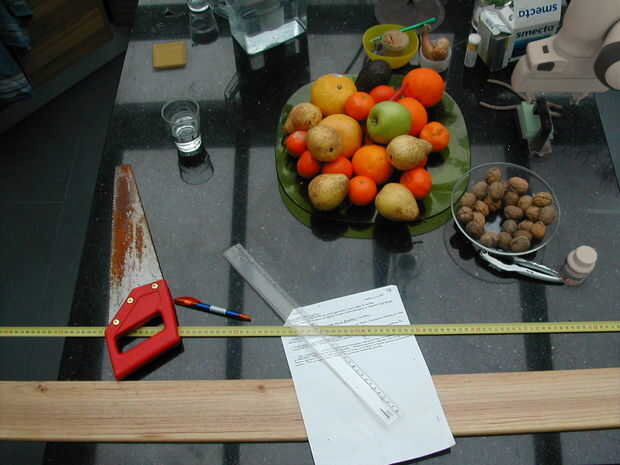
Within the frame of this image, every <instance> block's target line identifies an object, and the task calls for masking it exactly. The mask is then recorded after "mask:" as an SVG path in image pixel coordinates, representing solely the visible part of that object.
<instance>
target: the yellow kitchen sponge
mask: <svg viewBox="0 0 620 465" xmlns="http://www.w3.org/2000/svg"><path fill="white" fill-rule="evenodd" d="M152 46H153V47H152V52H153V53H152V60H153V61H152V63H153V64H152V65H153V67H154V68H156V69H167V68H178V67H183V66H185V65H186V64H187V50H186V48H187V47H186V41H183V40H181V41H174V42H173V41H172V42H164V43H154V44H153V45H152Z"/></svg>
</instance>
